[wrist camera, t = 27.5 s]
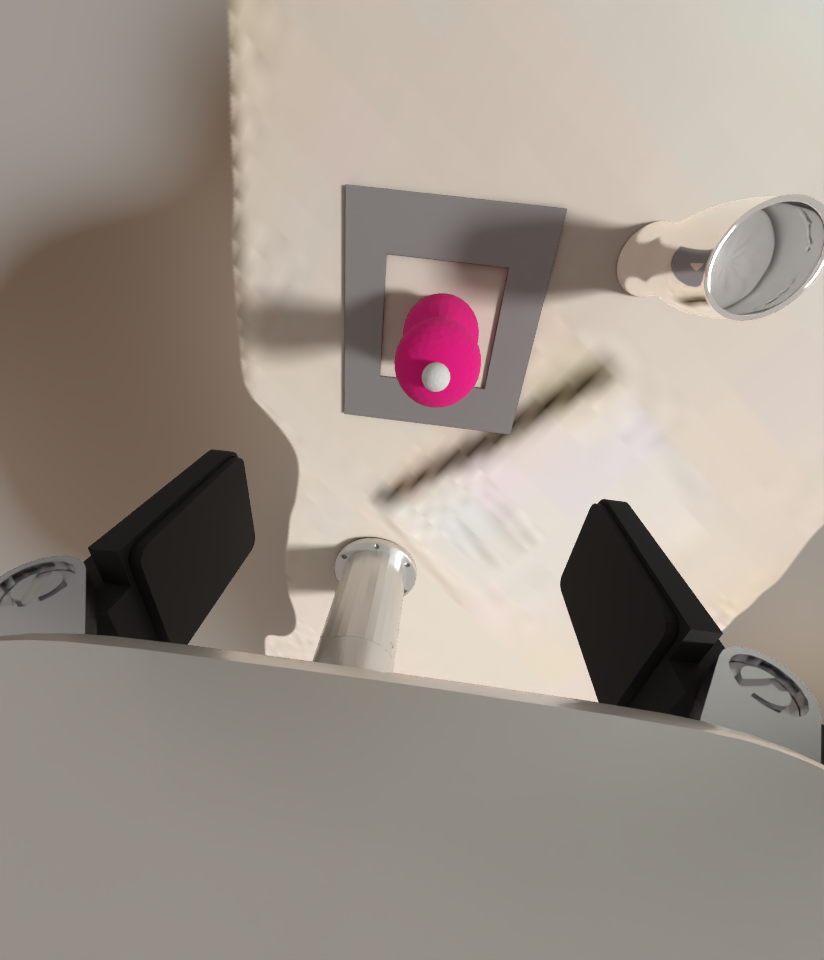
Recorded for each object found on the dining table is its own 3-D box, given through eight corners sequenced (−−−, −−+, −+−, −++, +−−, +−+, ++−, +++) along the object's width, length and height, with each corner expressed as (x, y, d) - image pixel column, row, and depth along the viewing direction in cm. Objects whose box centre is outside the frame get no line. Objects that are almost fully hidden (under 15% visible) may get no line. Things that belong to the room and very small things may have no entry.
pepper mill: (393, 321, 40) (352, 369, 23) (449, 273, 37) (450, 286, 20) (434, 375, 42) (424, 455, 25) (489, 334, 40) (519, 393, 23)
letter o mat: (509, 433, 45) (510, 434, 45) (345, 412, 46) (344, 413, 45) (565, 209, 34) (567, 208, 33) (346, 185, 34) (345, 184, 34)
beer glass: (614, 311, 38) (699, 339, 25) (608, 233, 34) (703, 218, 22) (691, 286, 36) (826, 302, 23) (692, 201, 33) (850, 165, 20)
